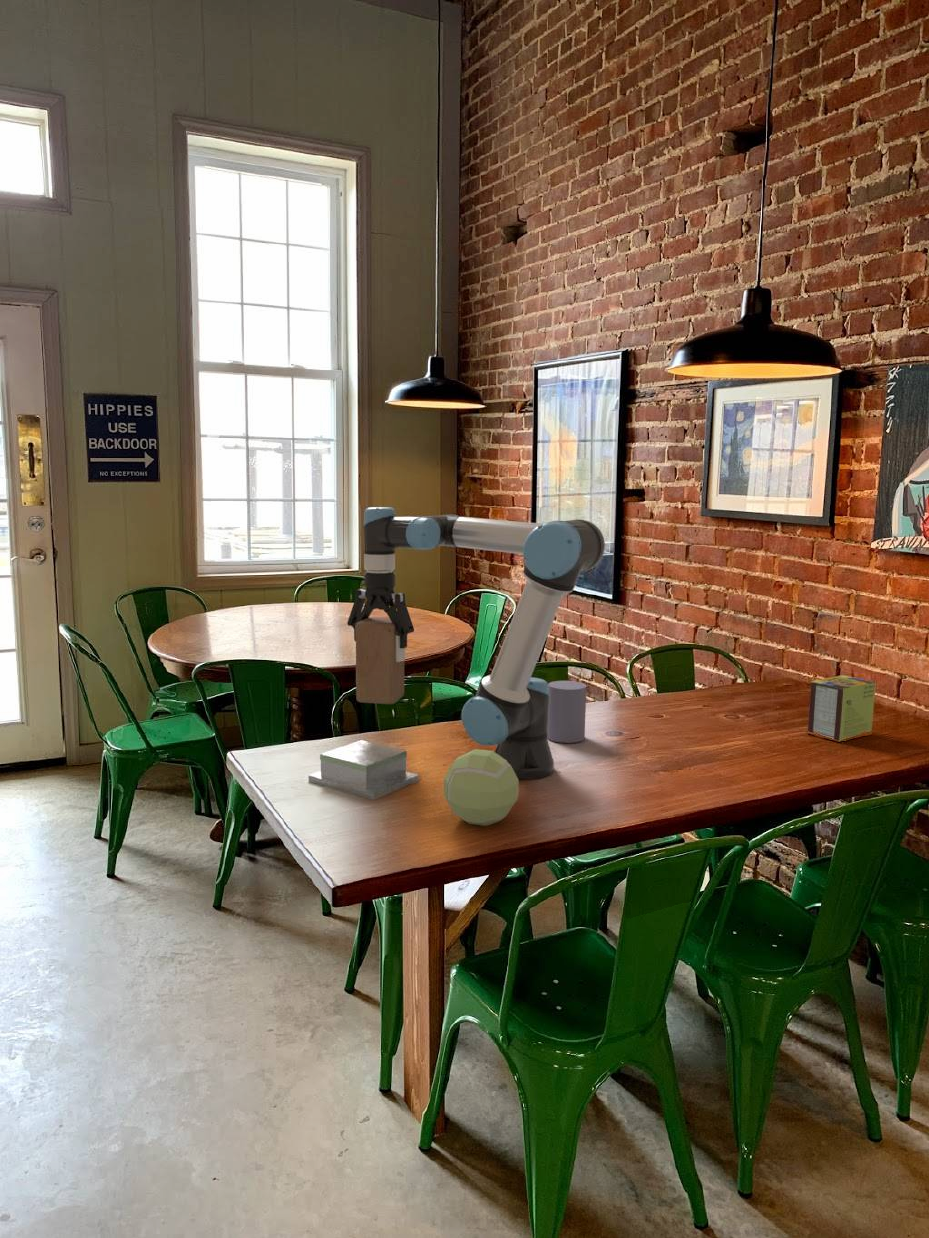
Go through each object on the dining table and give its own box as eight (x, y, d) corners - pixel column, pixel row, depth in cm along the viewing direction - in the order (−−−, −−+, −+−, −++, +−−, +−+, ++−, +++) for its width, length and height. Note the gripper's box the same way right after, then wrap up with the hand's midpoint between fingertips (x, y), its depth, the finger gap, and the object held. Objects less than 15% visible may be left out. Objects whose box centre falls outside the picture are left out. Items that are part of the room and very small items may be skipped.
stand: (418, 780, 219) (418, 752, 218) (373, 800, 206) (373, 769, 205) (355, 764, 231) (354, 736, 229) (308, 781, 218) (308, 752, 217)
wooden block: (394, 705, 227) (393, 624, 223) (354, 703, 229) (354, 622, 225) (405, 695, 236) (405, 617, 233) (367, 693, 238) (367, 616, 235)
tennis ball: (456, 805, 204) (457, 739, 201) (523, 813, 200) (525, 745, 197) (435, 830, 190) (435, 759, 187) (506, 839, 185) (508, 767, 183)
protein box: (872, 735, 262) (876, 681, 260) (839, 743, 254) (843, 688, 251) (839, 726, 271) (843, 674, 268) (805, 734, 262) (810, 680, 260)
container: (541, 741, 252) (543, 687, 250) (552, 731, 262) (554, 679, 259) (578, 745, 249) (580, 691, 246) (588, 735, 258) (590, 682, 256)
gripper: (428, 573, 223) (428, 661, 227) (352, 566, 237) (353, 649, 241) (409, 576, 217) (409, 666, 221) (332, 569, 231) (333, 654, 235)
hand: (380, 657), depth 231 cm, fingers closed on wooden block, 12 cm apart
